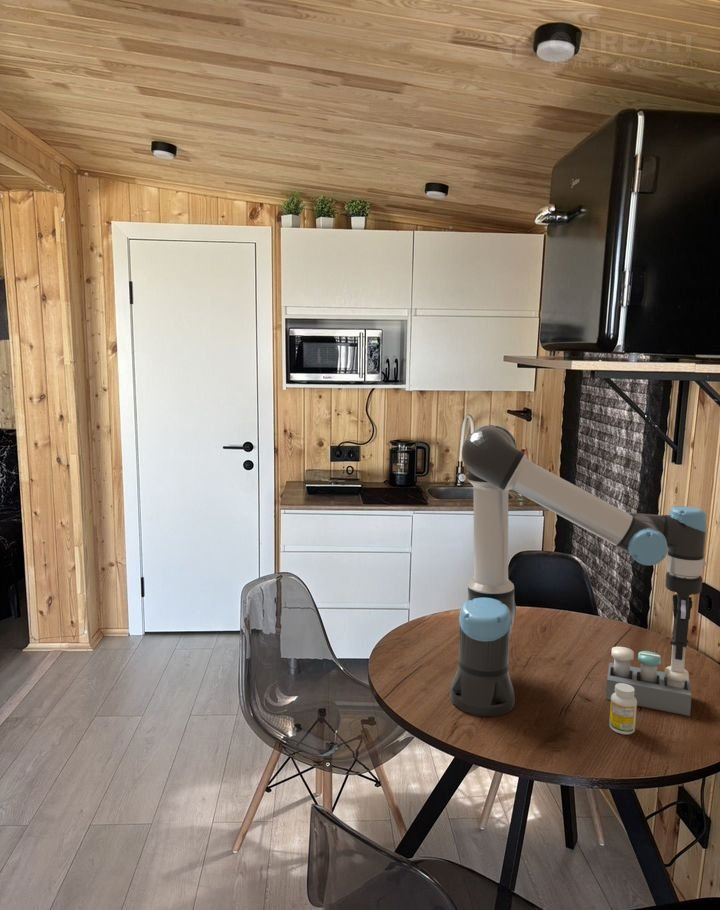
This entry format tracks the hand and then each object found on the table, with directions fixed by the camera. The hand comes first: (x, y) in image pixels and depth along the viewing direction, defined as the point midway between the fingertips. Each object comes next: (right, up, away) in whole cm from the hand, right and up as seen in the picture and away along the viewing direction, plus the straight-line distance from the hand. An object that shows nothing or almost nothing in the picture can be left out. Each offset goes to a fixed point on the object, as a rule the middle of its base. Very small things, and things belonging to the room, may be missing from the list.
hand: (677, 670), depth 150 cm
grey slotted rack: (-6, -8, +3) cm, 10 cm away
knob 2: (0, -7, +1) cm, 7 cm away
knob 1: (-11, -3, +5) cm, 13 cm away
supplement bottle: (-17, -10, -10) cm, 22 cm away
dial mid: (-6, -4, +3) cm, 7 cm away
